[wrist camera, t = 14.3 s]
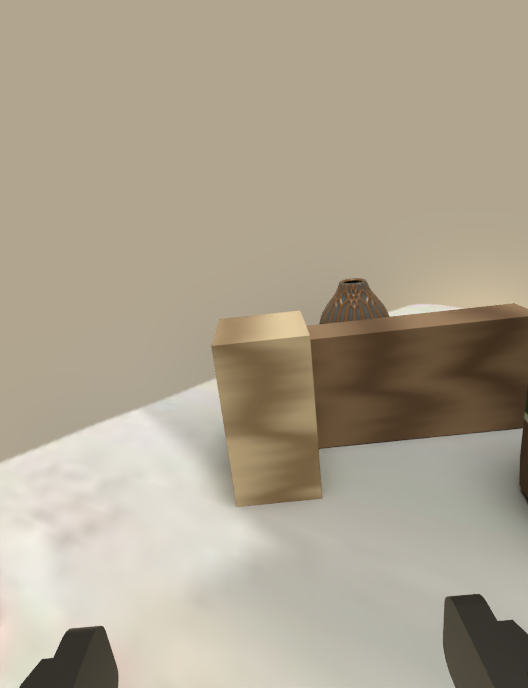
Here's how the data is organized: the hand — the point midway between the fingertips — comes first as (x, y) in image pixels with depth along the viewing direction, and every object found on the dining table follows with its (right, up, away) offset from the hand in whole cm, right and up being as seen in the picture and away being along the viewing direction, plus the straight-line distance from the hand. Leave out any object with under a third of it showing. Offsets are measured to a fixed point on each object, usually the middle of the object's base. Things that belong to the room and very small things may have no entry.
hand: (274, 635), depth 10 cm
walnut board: (+8, +1, +21) cm, 22 cm away
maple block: (+1, -2, +17) cm, 17 cm away
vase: (+9, +4, +31) cm, 33 cm away
